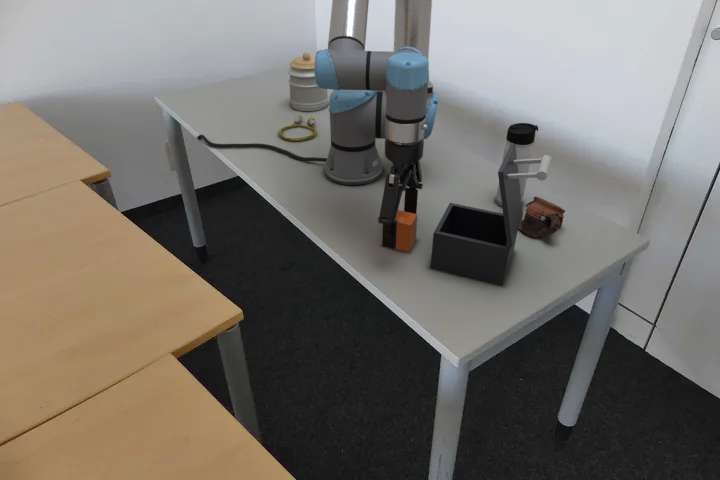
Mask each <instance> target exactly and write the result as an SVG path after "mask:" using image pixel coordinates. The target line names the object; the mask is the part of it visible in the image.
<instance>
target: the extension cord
mask: <svg viewBox="0 0 720 480" xmlns="http://www.w3.org/2000/svg"><path fill="white" fill-rule="evenodd" d="M302 120H303V116H302V115H298V116H297V117H295V119H294V122H293V123H292V124H290V125H287V126H284V127H282V128H281V129H280V130H279V131H278V136H279V137H280V138H281V139H282V140H285V141H288V142H292V143H293V142H304V141H309V140H311V139H313V138H315V137H316V136H317V133H318V132H317V130H316V127H315V124H316V119H315V118H314V117H309V118H307V123H308V124H309V126H308V125H304V124H300V123H302ZM294 128H303V129H308V130H310V131H312V132H313V133H312V134H310V135H307V136H303V137H295V138H294V137H293V138H292V137H285V136H284V135H282V132H283V131H284V130H288V129H294Z"/></svg>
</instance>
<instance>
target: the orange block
mask: <svg viewBox="0 0 720 480" xmlns="http://www.w3.org/2000/svg"><path fill="white" fill-rule="evenodd" d="M395 220H397V234H396V248H395V249H394V250H398V251H403V252H406V253H410V252H411V249H412V248H413V246H414V244H415V243H416V241H417V228H418V227H417V225H418V213H417V214H414V213H409V212H405V211H404V210H400V209H398V211H397V215H396V219H395Z"/></svg>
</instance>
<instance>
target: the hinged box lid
mask: <svg viewBox="0 0 720 480" xmlns="http://www.w3.org/2000/svg"><path fill="white" fill-rule="evenodd" d="M502 160H503V159H502ZM552 162H553V157H552V156H551V155H549V154H544V155H543V156H542V157H538V158H531V159H520V160H517V155H516V146H515V144H510V146H509V149H508V151H507V153H506V155H505V158H504V160H503V162H502V161H501V165H500V167H499V168H498V171H497V177H498V185H500V192H501V200H502V206H501V207H502V208H501V209H502V213H503V216H504V223H505V231H506V239H507V247H513V244H514V241H515V238H516V239H517V236H516V235H518V232H519V230H520V229H519V225H520V222H521V219H523V216H524V211H523V201H521V192H520V183H519V178H527V179H534V178H536V179H537V180H539V181H545V180H546V179H547V178H548V175H549V172H550V168H551V165H552ZM517 164H530V165H533V164H539V165H538V169H537V172H528V173H518V165H517ZM515 242H516V241H515Z"/></svg>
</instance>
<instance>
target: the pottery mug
mask: <svg viewBox="0 0 720 480" xmlns="http://www.w3.org/2000/svg"><path fill="white" fill-rule="evenodd" d="M524 206H525V211H526V212H525V214H524V217H523V218H522V219H521V222H520V225H519V229H518V230H520V231H521V232H523V233H524V234H526V235H528V236H529V237H532V238H534V239H538V236H539V234H541V235H542V236H543V237H550V236H551V235H554V234H555V233H557V232H558V230H559V228H561V227H562V226H563V221H564V218H565V216H564V214H565V213H566V210H565V209H564V208H562V207H560V206H558V205H557V204H555V203H552V202H550V201H547V200H546V199H544V198H542V197H538V196H534V197H533V199H532V200H531V201H530V202H527V203H526V204H525V205H524ZM543 217H544V219H542V218H543Z"/></svg>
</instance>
